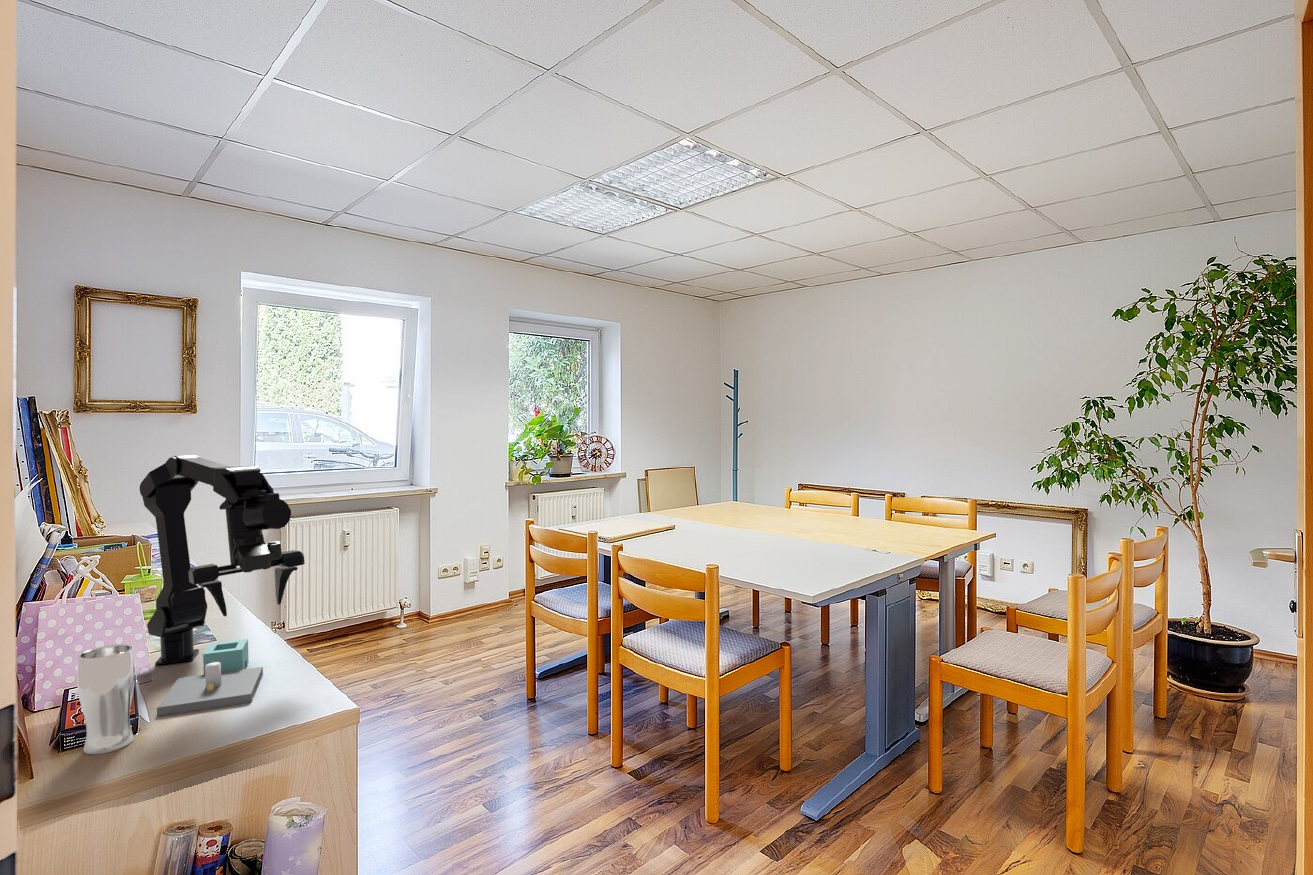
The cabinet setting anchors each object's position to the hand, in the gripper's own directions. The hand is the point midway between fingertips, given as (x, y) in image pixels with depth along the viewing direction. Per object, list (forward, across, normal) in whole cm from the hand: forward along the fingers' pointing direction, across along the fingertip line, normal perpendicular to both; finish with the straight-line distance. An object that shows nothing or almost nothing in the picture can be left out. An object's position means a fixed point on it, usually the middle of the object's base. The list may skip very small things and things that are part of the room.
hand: (252, 610), depth 129 cm
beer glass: (+14, -24, -12) cm, 30 cm away
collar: (+13, -4, +10) cm, 17 cm away
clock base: (+14, -8, -1) cm, 16 cm away
